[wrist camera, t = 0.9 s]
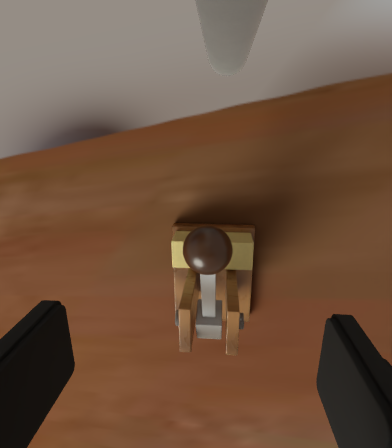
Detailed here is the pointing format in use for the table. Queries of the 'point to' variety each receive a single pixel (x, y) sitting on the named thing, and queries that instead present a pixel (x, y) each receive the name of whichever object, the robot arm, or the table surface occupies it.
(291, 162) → the table surface
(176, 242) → the butter
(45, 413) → the robot arm
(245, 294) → the wooden toy catapult
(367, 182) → the table surface
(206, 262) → the ball knob on post
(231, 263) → the butter
